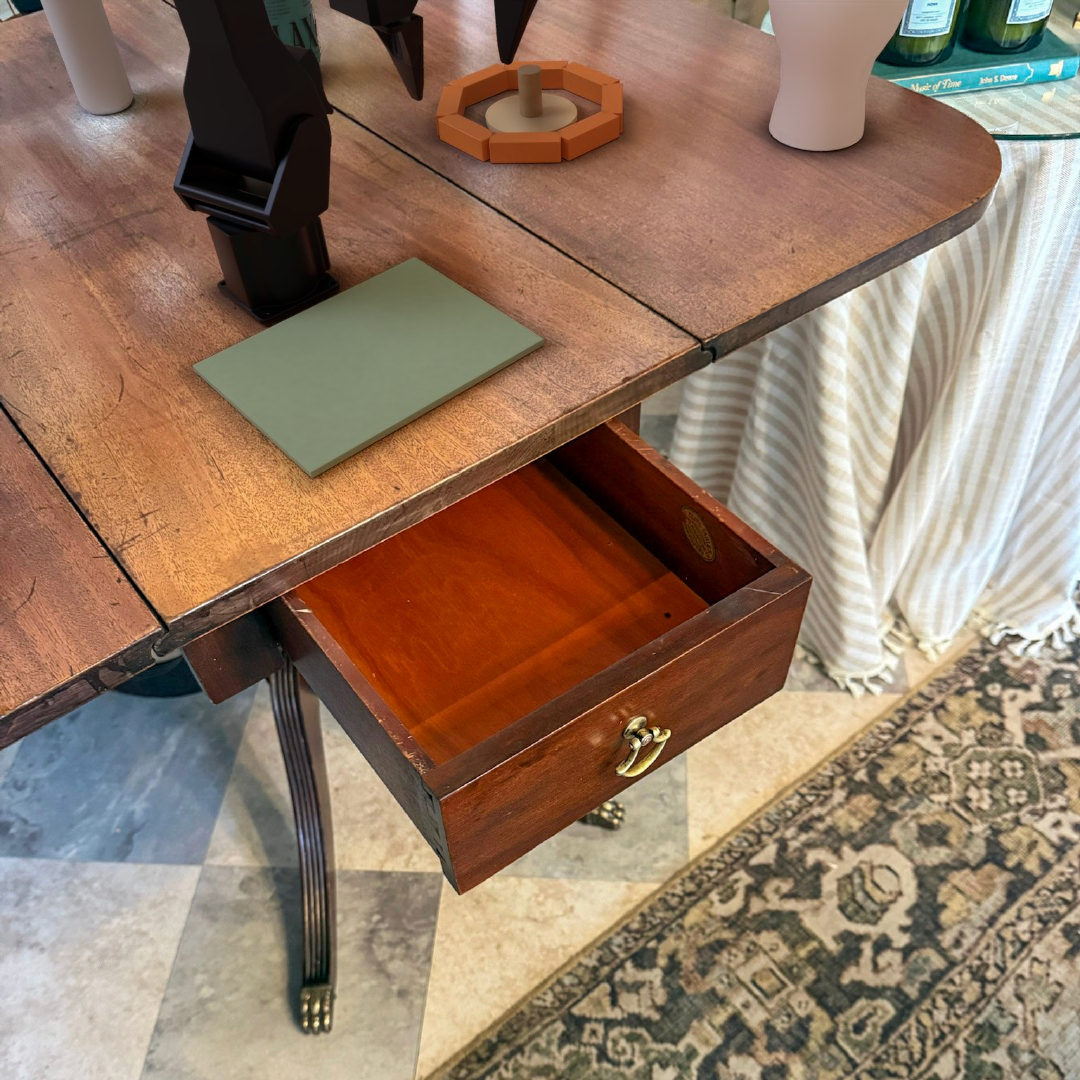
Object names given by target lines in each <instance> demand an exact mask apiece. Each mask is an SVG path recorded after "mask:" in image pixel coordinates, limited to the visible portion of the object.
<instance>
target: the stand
mask: <svg viewBox="0 0 1080 1080" xmlns="http://www.w3.org/2000/svg"><path fill="white" fill-rule="evenodd" d="M517 72H518V89H517V90H518V94H514V95H510V96H506V97H504V98H501V99H499V100H497V101H496V102H494V103H492V104H491V105H490V106H488V109H487V110H486V112H485V117H484V118H485V124H486V128H487V129H489V130H491V131H493V132H495V133H501V132H557V131H559V130H561V129H564V128H566V127H568V126H570V125H572V124H575V123H577V122H578V108H577V106H576V105H575V104H574V102H572V101H571V100H570V99H568V98H566V97H563V96H560V95H557V94H552V93H545V92H544V93H543V89H542V79H541V68H540V67H539V66H537V65H523V66H521V67H519V68H518V70H517Z"/></svg>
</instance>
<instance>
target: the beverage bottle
mask: <svg viewBox="0 0 1080 1080" xmlns="http://www.w3.org/2000/svg"><path fill="white" fill-rule="evenodd" d="M264 3H265V7H266V10H267V13H268V17H269V20H270V23H271V26H272V28H273V30H274V32H275V33H276V35H277V36H278V37H279V38H280V40H281V41H282V42H283V43H284V44H288V45H292V46H297V47H301V48H306V49H310V50H312V51H313V52H314V54H315V56H316V58H317V60H318V62H319V64H320V63H321V57H322V52H323V51H322V46H321V45H320V40H319V36H320V35H319V33H318V30H319V29H318V25H317V20H316V16H315V15H316V13H315V11H314V10H315V9H314V7H313V3H312V2H311V0H264Z"/></svg>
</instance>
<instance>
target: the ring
mask: <svg viewBox="0 0 1080 1080" xmlns="http://www.w3.org/2000/svg"><path fill="white" fill-rule="evenodd" d="M523 65H537V66H539V67H540V68H541V79H542V90H552V89H553V90H555V89H556V90H557V89H559V90H560V89H561V90H562V89H563V90H565V91H568V92H570V93H572V94H575V95H577V96H579V97H582V98H584V99H587V100H588V101H590V102H593V103H595V104H598V105H601V106H600V107H601V110H600V111H599V112H596V113H594V114H592V115H589V116H588V117H586V118H583V119H581V120H579V121H577V122H576V123H575V124H572V125H570V126H568V127H566V128H564V129H561V130H559V131H557V132H501V133H495V132H493V131H491V130H489V128H488V127H485V126H482V125H481V124H479V123H477V122H476V121H473V120H471V119H469V118H467V117H465V116H464V115H465V111H466V108H467V107H469V106H472V105H474V104H476V103H479V102H482V101H484V100H487V99H489V98H491V97H493V96H496V95H498V94H501V93H503V92H505V91H507V90H518V72H517V70H518V68H519V67H521V66H523ZM623 93H624V84H623V83H621V82H620V79H618V78H616V77H614V76H612V75H608V74H606V73H604V72H601V71H598V70H596V69H594V68H591V67H589V66H586V65H584V64H581V63H579V62H576V61H572V62H570V63H569V61H568V60H529V61H528V60H527V61H526V60H525V61H524V60H523V61H522V60H521V61H513V62H512V63H511V64H510V65H506V64H504V63H503V65H502V64H500V63H494V64H492V65H490V66H487V67H484V68H482V69H480V70H476V71H475V72H472V73H470V74H466V75H464V76H463V77H459V78H457V79H455V80H452V81H449V82H447V85H444V86H443V88H442V91H441V95H440V98H439V102H438V106H437V108H436V109H437V110H436V112H435V123H436V131H437V136H438V137H439V138H440V141H442V142H444V143H447V144H448V145H450V146H452V147H454V148H456V149H458V150H460V151H462V152H464V153H466V154H468V155H470V156H471V157H474V158H475V159H477V160H479V161H481V162H486V161H489V160H490V164H530V163H531V164H533V163H534V164H536V163H537V164H538V163H539V164H540V163H547V164H548V163H561V162H562V159H565V160H566V161H568V162H569V161H572V160H574V159H576V158H578V157H580V156H582V155H584V154H587V153H589V152H590V151H592V150H595V149H597V148H599V147H602V146H603V145H605V144H607V143H610V142H611V141H614V140H616V139H618V138H619V137H620V134H623V126H624V123H623V122H624V121H623V120H624V118H623V117H624V94H623Z"/></svg>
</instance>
